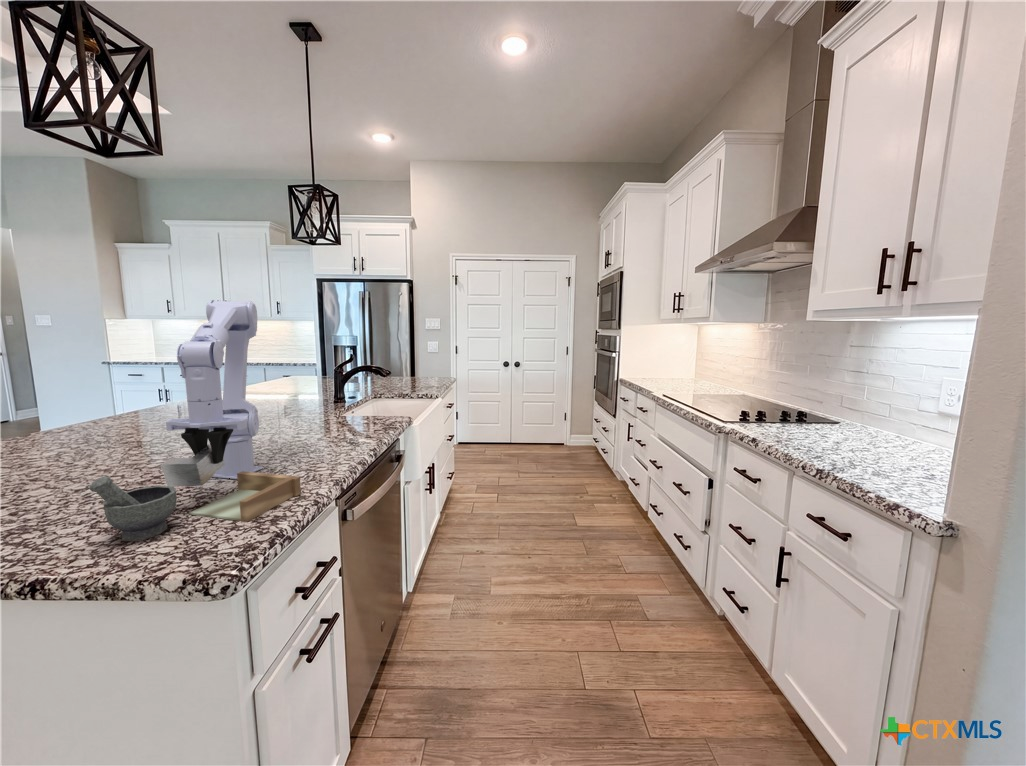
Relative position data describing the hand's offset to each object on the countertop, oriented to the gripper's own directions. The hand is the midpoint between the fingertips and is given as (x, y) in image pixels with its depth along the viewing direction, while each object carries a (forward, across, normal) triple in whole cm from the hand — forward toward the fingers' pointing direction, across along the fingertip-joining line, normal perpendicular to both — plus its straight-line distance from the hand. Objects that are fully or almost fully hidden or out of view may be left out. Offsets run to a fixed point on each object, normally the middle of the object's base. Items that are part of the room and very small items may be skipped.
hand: (210, 462), depth 85 cm
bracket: (+2, -2, -1) cm, 3 cm away
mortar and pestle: (+9, -4, -14) cm, 17 cm away
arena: (+8, +8, -2) cm, 12 cm away
